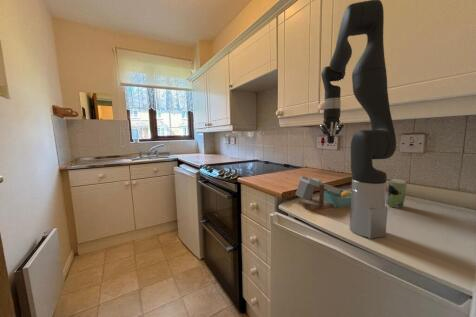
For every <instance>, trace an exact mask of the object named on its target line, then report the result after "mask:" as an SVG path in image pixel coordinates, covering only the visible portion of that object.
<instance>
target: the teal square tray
mask: <svg viewBox="0 0 476 317" xmlns="http://www.w3.org/2000/svg"><path fill="white" fill-rule="evenodd" d="M340 189H341V191H340V194H338V193H335V192H332V191H329V190H324V200H325V201H327V202H329V203H331V204H333V205H334V207H337V208H344V207H351V191H349V190H345V189H342V188H340ZM343 191H347V192H349V193H350V197H341V193H342V192H343Z"/></svg>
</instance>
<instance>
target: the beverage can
mask: <svg viewBox="0 0 476 317" xmlns="http://www.w3.org/2000/svg"><path fill="white" fill-rule="evenodd" d="M407 188H408V185H407V183H406V181H405V180H404V179H399V178H391V179H390V181H389V182H388V186H387V190H386V192H387V193H386V197H385V204H387V205H388V206H389V207H391V208H396V209H400V208H402V207H404V204H405V197H406V192H407Z"/></svg>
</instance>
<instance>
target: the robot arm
mask: <svg viewBox="0 0 476 317" xmlns="http://www.w3.org/2000/svg"><path fill="white" fill-rule="evenodd" d="M384 15H385V14H384V6H383V3H382V1H381V0H364V1H359V2H354V3H350V4H349V5H348V6H346V8H345V10H344V12H343V15H342V17H341V21H340V25H339V31H338V33H337V40H336V44H335V48H334V51H333V54H332V57H331V59H330V61H329V66H328V65H327V66H325V67H323V69H322V70H321V73H320V75H321V80H322V83H323V89H324V103H323V121H322V124H318V127H319V129H320V131H321V132H322V133H323V135H325V136H327V143H328V144H334V143H335V136H338V135H339V134H340V132H341V131H342V129H343V128H344V126H345V125H344V124H342V123H341V121H340V117H341V106H342V105H341V104H342V102H341V90H342V89H341V86H340V85H334V84H332V83H331V82H340V81H342V80H344V79H345V77H346V72H345V71H346V68H347V66H348V63H349V62H350V60H351V57H352V54H353V49H352V45H351V44H350V42H349V40H348V38H349V37H354V36H362V35H366V37H367V38H366V39H367V40H366V46H365V48H364V50H363V52H362V54H361V56H359V59H358V61H357V63H356V64H355V66H354V68H353V70H352V73H351V79H352V80H351V82H352V92H353V95H354V97H355V99H356V101H357V102H358V103H359V104H360V106H361V107H362V108H363V110H364V111H365V113H367V115H368V118H369V121H370V125H371V129H367V130H366V129H364V130H358V131H356V132H354V134H353V135H352V137H351V141H350V171H351V190H350V192H351V206H350V213H349V229H350V231H351V232H353V233H354V234H356V235H358V236H361V237H366V238H368V239H370V240H371V239H377V238H382V237H386V234H387V225H388V224H387V222H388V210H389V208H388V206H386V205H385V204H386V194H387V193H386V192H387V181H388V180H387V173H386V171H385V172H384V171H382V170H379V169H377V168H375V167H374V166H373V160H386V159H389V158H391V157H392V156H393V155H394V154H395V152H396V149H397V137H396V132H395V131H396V130H395V127H394V122H393V118H392V114H391V113H392V112H391V109H390V102H389V100H390V99H389V93H388V91H389V90H388V76H387V74H388V73H387V66H386V59H385V47H384V23H385V22H384V18H385V17H384ZM344 76H345V77H344ZM341 79H342V80H341ZM339 80H340V81H339Z"/></svg>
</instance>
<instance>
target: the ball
mask: <svg viewBox="0 0 476 317" xmlns="http://www.w3.org/2000/svg"><path fill="white" fill-rule="evenodd" d="M347 191H348V190H346V191H343V192H342V193H341V197H350V193H349V192H350V191H349V192H347Z"/></svg>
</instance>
